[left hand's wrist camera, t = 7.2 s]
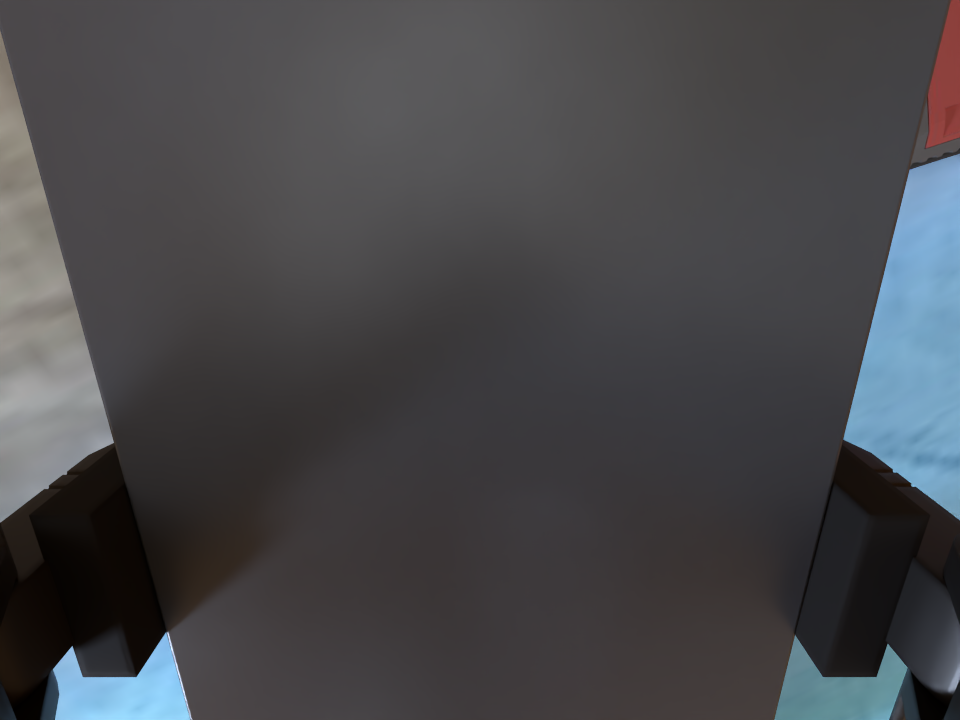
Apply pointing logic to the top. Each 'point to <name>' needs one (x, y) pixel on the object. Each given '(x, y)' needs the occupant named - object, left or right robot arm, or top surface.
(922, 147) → the walkie-talkie
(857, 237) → the slab
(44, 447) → the top surface
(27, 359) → the top surface
